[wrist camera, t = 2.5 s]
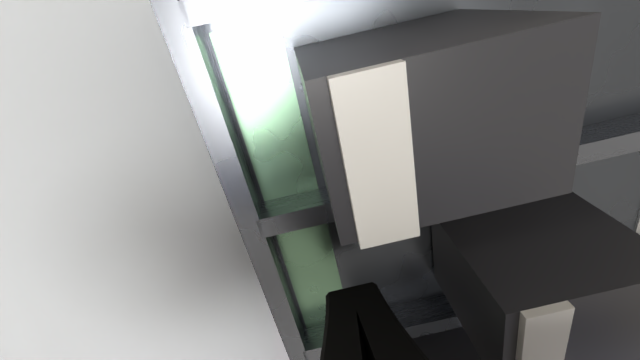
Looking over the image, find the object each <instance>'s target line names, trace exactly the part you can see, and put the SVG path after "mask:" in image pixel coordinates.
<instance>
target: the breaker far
mask: <svg viewBox="0 0 640 360" xmlns="http://www.w3.org/2000/svg"><path fill="white" fill-rule="evenodd" d="M412 339H413V340H414V341H415V343H416V344H417V345H418V346H419V348H420V349H421V350H422V352H423V353H424V354H425V355H426V356H427V358H428V359H429V360H481V358H480V356H479V355H478V353H477V351H476V349H475V348H474V346H473V344H472V342H471V341H470V339H469V337H468V335H467V333H466V332H465V330H464V328H463V327H459V328H455V329H451V330H446V331H442V332H438V333H433V334H429V335H425V336H420V337H416V338H412Z"/></svg>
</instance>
